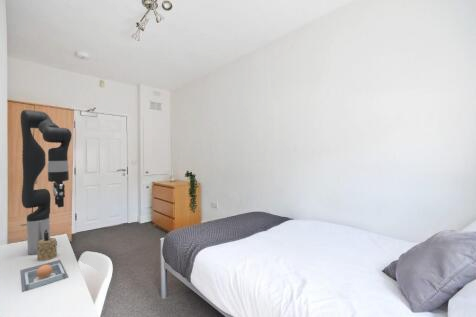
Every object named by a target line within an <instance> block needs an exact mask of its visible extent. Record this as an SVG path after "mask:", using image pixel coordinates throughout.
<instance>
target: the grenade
mask: <svg viewBox="0 0 476 317" xmlns="http://www.w3.org/2000/svg"><path fill="white" fill-rule="evenodd" d="M57 246H58V241H57V238H55V237H50V238H49V235H48V229H45V231H44V239H43V240H40V241H38V242H37V254H36V255H37V261H38V262H45V261H49V260H52V259H54V258H56V257H58V256H57V255H58V253H57V251H58V250H57V249H58V248H57Z"/></svg>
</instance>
